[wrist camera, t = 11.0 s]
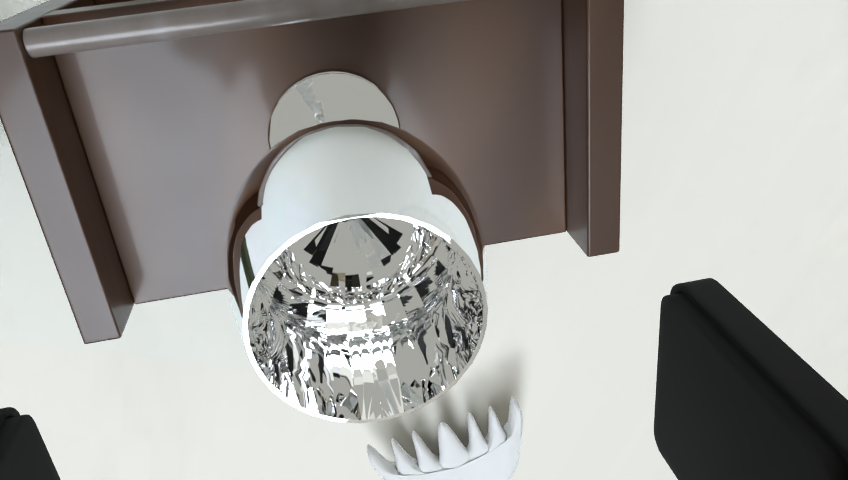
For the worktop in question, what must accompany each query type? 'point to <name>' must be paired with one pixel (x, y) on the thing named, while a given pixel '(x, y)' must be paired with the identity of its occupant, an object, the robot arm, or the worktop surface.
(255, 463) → the worktop surface
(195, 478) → the worktop surface
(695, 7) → the worktop surface
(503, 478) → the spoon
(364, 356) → the wineglass
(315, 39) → the rack
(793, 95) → the worktop surface
